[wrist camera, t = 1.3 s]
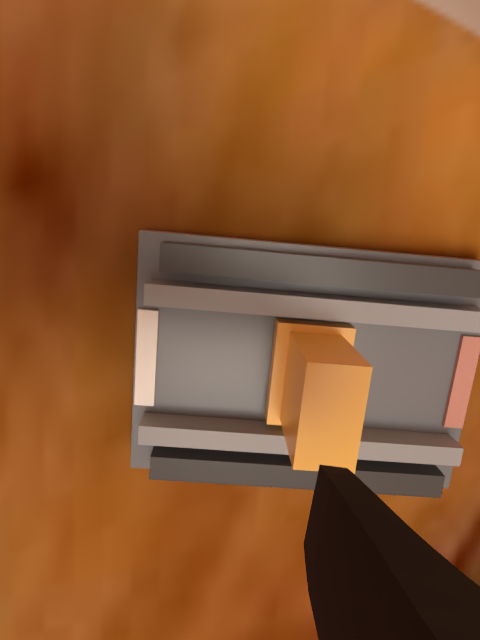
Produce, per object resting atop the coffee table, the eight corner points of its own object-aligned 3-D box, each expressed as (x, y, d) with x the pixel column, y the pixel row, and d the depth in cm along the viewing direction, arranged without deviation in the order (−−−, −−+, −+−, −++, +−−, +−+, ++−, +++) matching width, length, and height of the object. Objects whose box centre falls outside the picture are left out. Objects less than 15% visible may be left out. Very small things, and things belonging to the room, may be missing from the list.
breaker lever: (264, 415, 18) (276, 476, 14) (275, 317, 17) (291, 351, 13) (335, 420, 18) (368, 483, 14) (350, 323, 17) (390, 359, 13)
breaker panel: (137, 449, 20) (123, 484, 17) (146, 229, 18) (131, 231, 15) (432, 469, 21) (462, 505, 18) (477, 259, 18) (519, 266, 16)
